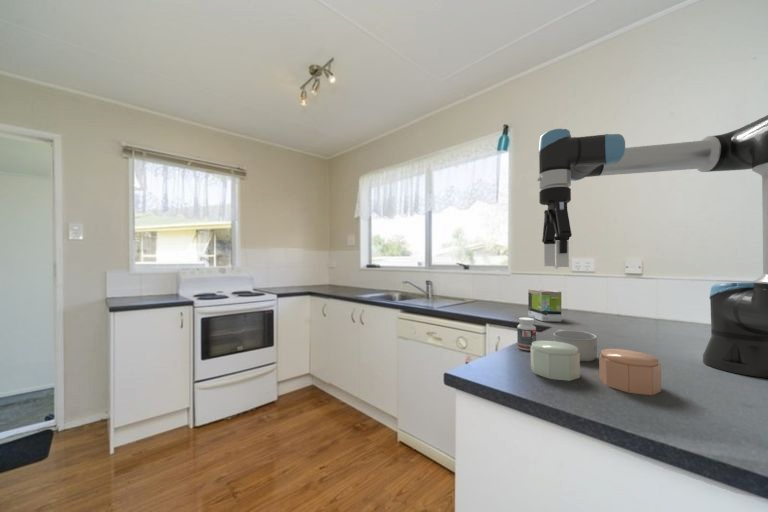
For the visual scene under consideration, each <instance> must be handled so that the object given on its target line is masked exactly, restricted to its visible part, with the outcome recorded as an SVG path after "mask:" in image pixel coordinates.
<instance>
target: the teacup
mask: <svg viewBox="0 0 768 512" xmlns="http://www.w3.org/2000/svg"><path fill="white" fill-rule="evenodd" d="M552 335H553V341H556V342H562V343H567V344H571V345H574V346H576V347H577V348H578V353H579V354H580V362H592V361H594V360H596V358H597V355H598V341H597V339H598V337H597V335H596V334H593V333H591V332H588V331H580V330H564V329H557V331H555V332H553V334H552Z"/></svg>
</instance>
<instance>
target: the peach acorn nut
mask: <svg viewBox="0 0 768 512" xmlns="http://www.w3.org/2000/svg"><path fill="white" fill-rule="evenodd" d="M600 352H601V353H600V354H599V355H598V358H599V359H598V361H599V363H598V364H599V365H598V369H599V370H598V372H599V373H598V374H599V380H600V381H601V383H603V384H604V385H605V386H606V387H609V388H612V389H616V390H618V391H623V392H625V393H628V394H629V393H630V394H636V395H637V394H638V395H647V396H648V395H649V396H654V395H656V394H658V393H660V392H662V365H661V363H659V362H660V361H659V358H658V357H656V356H654V355H651V354H648V353H645V352H640V351H636V350H630V349H622V348H605V349H604V348H603V349H602V350H601V351H600Z"/></svg>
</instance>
